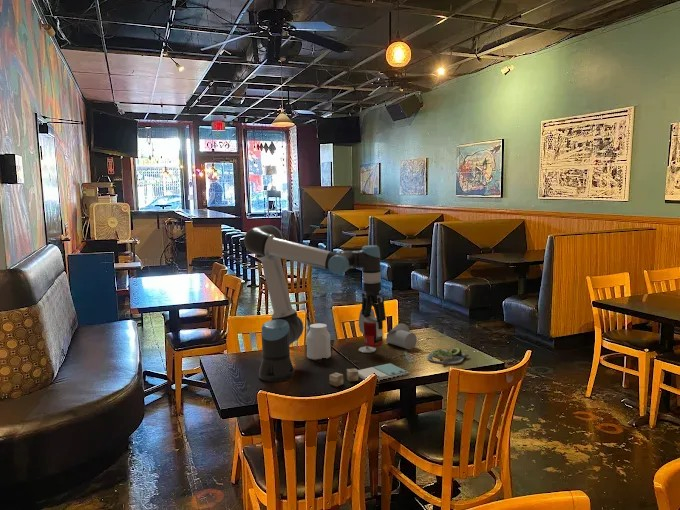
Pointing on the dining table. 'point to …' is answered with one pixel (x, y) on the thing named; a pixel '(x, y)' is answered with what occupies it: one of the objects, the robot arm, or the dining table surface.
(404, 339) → the bent grey cylinder
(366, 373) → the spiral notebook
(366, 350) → the wineglass
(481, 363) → the dining table surface
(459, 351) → the salad plate
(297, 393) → the dining table surface
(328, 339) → the jar
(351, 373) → the maple block
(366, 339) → the canned food
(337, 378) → the maple block
